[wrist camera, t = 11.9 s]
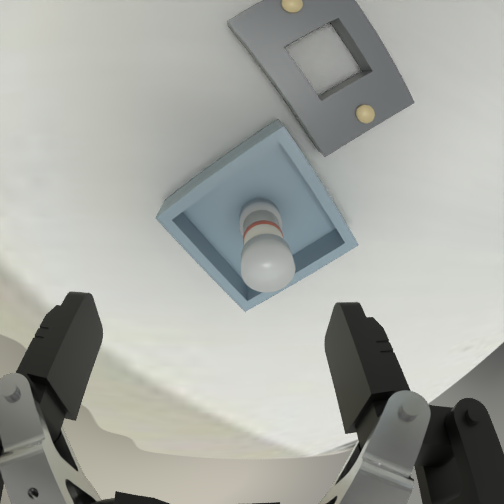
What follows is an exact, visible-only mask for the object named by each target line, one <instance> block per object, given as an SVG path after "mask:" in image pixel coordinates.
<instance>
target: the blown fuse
mask: <svg viewBox="0 0 504 504" xmlns="http://www.w3.org/2000/svg"><path fill="white" fill-rule="evenodd" d="M239 223H240V232H241V234H242V236H243V245H244V246H243V248H242V251H241V275H242V278H243V280H244V282H245V283H246V285H247V286H249V287H250V288H251V289H253V290H255V291H258V292H265V293H268V292H275V291H278V290H280V289H282V288H284V287H285V286H287V285H288V284H289V283H290V282H291V280H292V279H293V277H294V274H295V263H294V260H293V256H292V253H291V250H290V247H289V245H288V243H287V242H286V241H285V240H284V237H283V233H282V220H281V216H280V213H279V210H278V208H277V206H276V205H275V204H274V203H273V202H272V201H270V200H268V199H264V198H256V199H252V200H250V201H248V202H247V203H246V204H245V205H244V206H243V207H242V209H241V211H240V214H239Z"/></svg>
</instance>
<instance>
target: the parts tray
mask: <svg viewBox="0 0 504 504" xmlns="http://www.w3.org/2000/svg"><path fill="white" fill-rule="evenodd" d="M256 198H264V199H268V200H270V201H272V202H273V203H274V204H275V205H276V206H277V208H278V210H279V213H280V216H281V220H282V233H283V237H284V240H285V241H286V242H287V243H288V245H289V247H290V250H291V253H292V256H293V260H294V263H295V274H294V277H293V279H292V280H291V282H290V283H289V284H288V285H287V286H285V287H284V288H282V289H280V290H278V291H275V292H268V293H265V292H258V291H255V290H253V289H251V288H250V287H249V286H247V285H246V283H245V282H244V280H243V278H242V275H241V251H242V248H243V246H244V245H243V236H242V234H241V232H240V223H239V214H240V211H241V209H242V207H243V206H244V205H245V204H246V203H247V202H248V201H250V200H252V199H256ZM156 219H157V220H158V221H159V222H160V223H161V225H162V226H163V227H164V228H165V229H166V230H167V231H168V232H169V233H170V234H171V235H172V236H173V238H174V239H175V240H176V241H177V242H178V243H179V244H180V245H181V246H182V247H183V248H184V249H185V250H186V251H187V252H188V254H189V255H190V256H191V257H192V258H193V259H194V260H195V261H196V262H197V263H198V264H199V265H200V266H201V267H202V268H203V269H204V270H205V271H206V272H207V273H208V275H209V276H210V277H211V278H212V279H213V280H214V281H215V282H216V283H217V284H218V285H219V286H220V287H221V288H222V289H223V290H224V291H225V292H226V293H227V294H228V295H229V296H230V297H231V298H232V299H233V300H234V301H235V302H236V303H237V304H238V305H239V306H240V307H241V308H242V309H243V310H244V311H245V312H246V311H247V310H249V309H251V308H253V307H254V306H256V305H258V304H260V303H262V302H263V301H265V300H267V299H269V298H270V297H272V296H274V295H276V294H277V293H279V292H281V291H283V290H284V289H286V288H288V287H289V286H291V285H293V284H295V283H296V282H298V281H300V280H301V279H303V278H305V277H307V276H308V275H310V274H312V273H313V272H315V271H317V270H318V269H320V268H322V267H323V266H325V265H327V264H328V263H330V262H332V261H333V260H335V259H337V258H338V257H340V256H342V255H343V254H345V253H347V252H348V251H350V250H351V249H353V248H355V247H356V246H358V243H357V241H356V240H355V238H354V236H353V234H352V233H351V231H350V229H349V227H348V226H347V224H346V222H345V220H344V219H343V217H342V215H341V214H340V212H339V210H338V209H337V207H336V205H335V204H334V202H333V200H332V199H331V197H330V196H329V194H328V192H327V191H326V189H325V187H324V186H323V184H322V183H321V181H320V179H319V178H318V176H317V175H316V173H315V172H314V170H313V169H312V167H311V165H310V164H309V162H308V161H307V159H306V158H305V156H304V155H303V153H302V152H301V150H300V149H299V147H298V146H297V144H296V143H295V141H294V140H293V138H292V137H291V135H290V134H289V132H288V131H287V130H286V128H285V127H284V125H283V124H282V123H281V122H280V121H279V120H278V119H277V120H276V121H274V122H273V123H271V124H270V125H268V126H267V127H265V128H264V129H262V130H261V131H259V132H258V133H256V134H255V135H253V136H252V137H250V138H249V139H247V140H246V141H244V142H243V143H241V144H240V145H239V146H237V147H236V148H234V149H233V150H231V151H230V152H229V153H227V154H226V155H224V156H223V157H222V158H220V159H219V160H217V161H216V162H215V163H213V164H212V165H211V166H209V167H208V168H206V169H205V170H204V171H202V172H201V173H200V174H198V175H197V176H196V177H194V178H193V179H192V180H190V181H189V182H188V183H186V184H185V185H184V186H183V187H181V188H180V189H179V190H177V191H176V192H175V193H173V194H172V195H171V196H170V197H168V198H167V199H166V200H165V201H164V203H163V205H162V207H161V208H160V210H159V212H158V214H157V216H156Z"/></svg>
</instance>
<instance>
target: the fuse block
mask: <svg viewBox="0 0 504 504" xmlns="http://www.w3.org/2000/svg"><path fill="white" fill-rule="evenodd" d="M329 22H330V23H331V24H332V26H333V27H334V28H335V30H336V31H337V33H338V34H339V36H340V37H341V39H342V40H343V42H344V43H345V45H346V46H347V48H348V49H349V51H350V52H351V54H352V56H353V57H354V59H355V60H356V62H357V64H358V65H359V67H360V69H361V70H362V71H361V72H359V73H358V74H356V75H354V76H352V77H351V78H349V79H347V80H345V81H343V82H342V83H340V84H338V85H337V86H335V87H333V88H331V89H330V90H328V91H326V92H325V93H323V94H321V95H320V96H318V95H317V94H316V92H315V91H314V89H313V88H312V86H311V85H310V83H309V82H308V80H307V79H306V77H305V76H304V74H303V73H302V72H301V70H300V69H299V67H298V66H297V64H296V63H295V62H294V60H293V59H292V57H291V56H290V55H289V53H288V52H287V51H286V49H285V48H284V47H285V46H287V45H288V44H290V43H292V42H294V41H295V40H297V39H299V38H301V37H303V36H304V35H306V34H308V33H310V32H312V31H314V30H315V29H317V28H319V27H321V26H323V25H325V24H327V23H329ZM227 23H228V27H229V28H230V29H231V30H232V32H233V33H234V34H235V35H236V37H237V38H238V39H239V40H240V42H241V43H242V44H243V45H244V47H245V48H246V49H247V50H248V52H249V53H250V54H251V55H252V57H253V58H254V59H255V61H256V62H257V63H258V65H259V66H260V67H261V69H262V70H263V71H264V73H265V74H266V75H267V77H268V78H269V79H270V81H271V82H272V83H273V85H274V86H275V88H276V89H277V90H278V92H279V93H280V95H281V96H282V97H283V99H284V100H285V102H286V103H287V104H288V106H289V107H290V109H291V110H292V112H293V113H294V115H295V116H296V118H297V119H298V121H299V122H300V124H301V125H302V127H303V128H304V130H305V131H306V133H307V134H308V136H309V137H310V139H311V140H312V142H313V143H314V145H315V146H316V148H317V150H318V151H319V152H320V153H321V154H322V155H323V156H324V157H326V156H328V155H329V154H331V153H332V152H334V151H336V150H337V149H339V148H340V147H342V146H344V145H345V144H347V143H348V142H350V141H352V140H353V139H355V138H357V137H358V136H360V135H361V134H363V133H365V132H366V131H368V130H370V129H371V128H373V127H375V126H376V125H378V124H380V123H381V122H383V121H385V120H386V119H388V118H390V117H391V116H393V115H395V114H396V113H398V112H400V111H401V110H403V109H405V108H406V107H408V106H410V105H412V104H413V103H414V101H413V98H412V96H411V94H410V92H409V90H408V88H407V86H406V84H405V82H404V80H403V78H402V76H401V75H400V73H399V71H398V69H397V67H396V65H395V63H394V62H393V60H392V58H391V56H390V54H389V53H388V51H387V49H386V48H385V46H384V44H383V43H382V41H381V39H380V38H379V36H378V34H377V33H376V31H375V29H374V28H373V26H372V25H371V23H370V22H369V20H368V19H367V17H366V16H365V14H364V13H363V11H362V10H361V8H360V7H359V5H358V4H357V2H356V1H355V0H263V1H261V2H259V3H257V4H255V5H254V6H252V7H250V8H248V9H247V10H245V11H243V12H242V13H240V14H238V15H237V16H235V17H234V18H232V19H230V20H229V21H227Z"/></svg>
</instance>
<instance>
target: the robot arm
mask: <svg viewBox="0 0 504 504" xmlns="http://www.w3.org/2000/svg"><path fill="white" fill-rule="evenodd" d="M102 339H103V328H102V324H101V321H100V318H99V315H98V312H97V308H96V305H95V302H94V298H93V296H92V294H90V293H83V292H69V293H68V294H67V296H66V297H65V299H64V301H63V303H62V304H61V306H60V305H56V306H55V307H54V308H53V309H52V310H51V311H50V312H49V313H48V314H46V316H45V318H44V319H43V321H42V323H41V325H40V328H38V330H37V332H36V334H35V338H33V340H32V341H31V343H30V345H29V347H28V349H27V351H26V353H25V355H24V357H23V359H22V361H21V363H20V365H19V367H18V370H17V371H16V373H10V374H7V375H5V376H3V377H2V378H0V501H1V496H2V490H3V485H4V484H5V487H6V490H7V493H8V496H9V498H10V501H11V504H169V503H166V502H164V501H161V500H158V499H155V498H151V497H144V496H138V495H132V494H127V493H121V492H117V491H116V493H115V498H111V499H105V500H101V498H100V496H99V495H98V493H97V491H96V490H95V488H94V487H93V486H92V484H91V483H90V482H89V481H88V479H87V478H86V476H85V475H84V473H83V471H82V469H81V467H80V465H79V463H78V460H77V458H76V456H75V454H74V452H73V449H72V447H71V445H70V443H69V440H68V438H67V436H66V433H65V431H64V429H63V427H62V424H63V420H64V418H66V419H71V420H76V418H77V415H78V412H79V408H80V405H81V402H82V399H83V396H84V393H85V389H86V386H87V383H88V380H89V377H90V374H91V371H92V369H93V366H94V363H95V360H96V357H97V354H98V352H99V349H100V346H101V343H102ZM325 353H326V357H327V360H328V364H329V368H330V372H331V376H332V380H333V384H334V388H335V392H336V396H337V400H338V404H339V409H340V413H341V417H342V421H343V426H344V430H345V434H347V433H354V432H357V435H358V439H359V440H358V441H357V443H356V445H355V447H354V448H353V450H352V452H351V454H350V456H349V458H348V459H347V461H346V463H345V465H344V466H343V468H342V470H341V471H340V473H339V475H338V477H337V478H336V480H335V481H334V483H333V485H332V486H331V488H330V489H329V491H328V492H327V493H326V494H325V496H324V497H323V498H322V500H321V501H320V502H319V504H407V501H408V499H409V497H410V495H411V492H412V489H413V486H414V479H412V478H411V472H412V469H413V467H414V466H415V470H416V474H417V479H418V483H419V488H420V492H421V498H422V503H423V504H504V454H503V451H502V448H501V445H500V442H499V439H498V437H497V434H496V432H495V429H494V426H493V424H492V421H491V419H490V416H489V414H488V411H487V409H486V408H485V406H484V405H483V404H482V403H480V402H479V401H477V400H475V399H472V398H465V399H462V400H460V401H459V402H458V403H457V404H456V405H455V406H454V408H450V407H440V406H432V405H428V403H427V401H426V400H425V399H424V398H423V397H422V396H421V395H419V394H417V393H415V392H413V391H410V389H409V386H408V384H407V381H406V379H405V377H404V374H403V372H402V369H401V367H400V365H399V362H398V360H397V358H396V355H395V353H393V348H392V346H391V344H390V342H389V339H388V337H387V335H386V333H385V331H384V328H383V327H382V326H381V325H380V324H379V323H378V322H377V321H376V320H375V319H374V318H373V317H366V316H365V313H364V311H363V309H362V307H361V305H360V303H358V302H343V303H336V304H335V306H334V309H333V312H332V315H331V319H330V322H329V325H328V329H327V332H326V335H325ZM256 504H280V502H278V503H256Z"/></svg>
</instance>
